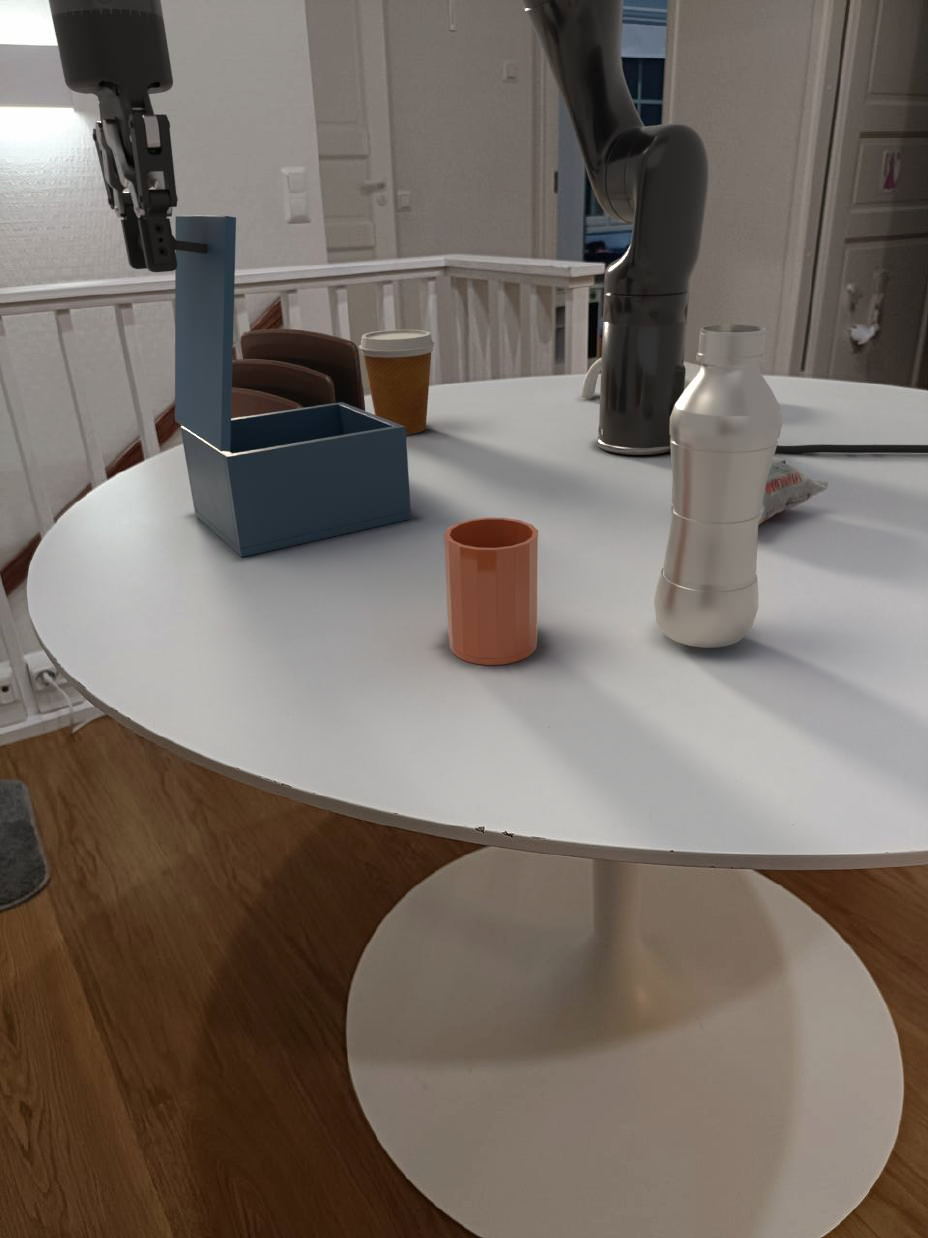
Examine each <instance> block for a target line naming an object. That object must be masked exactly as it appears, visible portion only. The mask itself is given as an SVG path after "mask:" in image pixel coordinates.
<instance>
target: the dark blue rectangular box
mask: <svg viewBox="0 0 928 1238" xmlns="http://www.w3.org/2000/svg"><path fill="white" fill-rule="evenodd" d="M179 428H180V433H181V439H182V446H183V452H184V457H185V462H186V469H187V474H188V480H189V488H190V493H191V499H192V504H193V508H194V516H195V517H196V518H197V519H198V520H200V521H201V522H202V523H203V524H204V525H205V526H206V527H208V529H210V530H211V531H212V532H213V533H214V534H215V535H216V536H217V537H219V539H221V540H222V541H223V542H224V543H225V544H226V545H227V546H228V547H229V548H231V550H233V551H234V552H235V553H236V554H237V555H238V556H239V557H241V558H244V557H249V556H253V555H258V554H263V553H266V552H272V551H275V550H280V549H284V548H289V547H294V546H298V545H301V544H303V545H304V544H307V543H311V542H316V541H320V540H324V539H329V538H333V537H337V536H342V535H346V534H350V533H355V532H360V531H364V530H369V529H373V528H377V527H382V526H386V525H390V524H394V523H395V524H396V523H399V522H404V521H408V520H411V519H412V514H411V511H412V510H411V509H412V508H411V494H410V493H411V492H410V478H409V477H410V476H409V462H408V461H409V460H408V459H409V458H408V443H407V435H406V427H405V426H403V425H400V424H397V423H394V422H392V421H389V420H387V419H384V418H382V417H379V416H376V415H375V413H372V412H369V411H366V410H365V411H364V410H361V409H358V408H356V407H353V406H351V405H348V404H346V403H343V402H339V403H332V404H326V405H319V406H312V407H306V408H299V409H292V410H286V411H279V412H272V413H266V414H259V415H252V416H245V417H239V418H232V419H231V442H230V451H220V450H218V449H217V448H215V447H214V446H212V445H211V444H209V443H208V442H206V441H204V440H203V439H201V438H200V437H198V436H197V435H195V434H194V433H192V432H191V431H189V430H188V429H186V428H185V427H183V426H182V425H180V427H179Z"/></svg>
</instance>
